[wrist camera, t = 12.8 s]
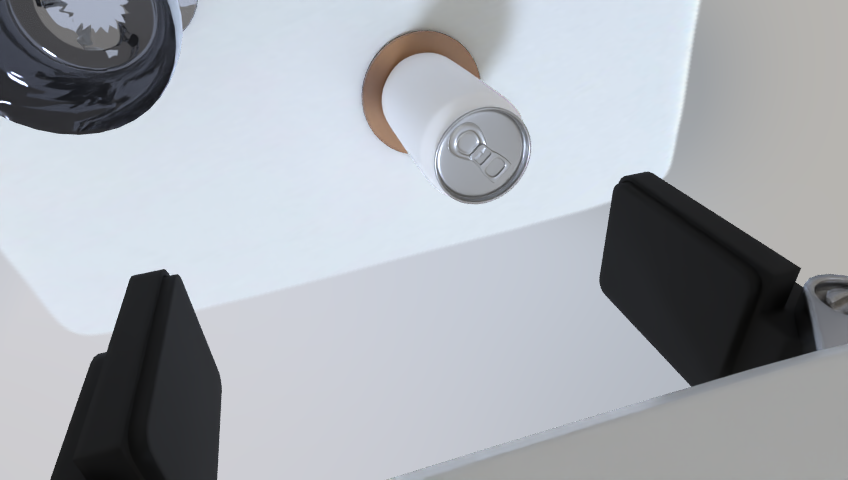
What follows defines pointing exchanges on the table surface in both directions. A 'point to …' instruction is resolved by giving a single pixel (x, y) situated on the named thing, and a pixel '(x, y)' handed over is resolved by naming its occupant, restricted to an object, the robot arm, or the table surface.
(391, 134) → the coaster
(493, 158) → the can
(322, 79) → the table surface
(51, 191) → the table surface
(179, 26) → the wine glass
